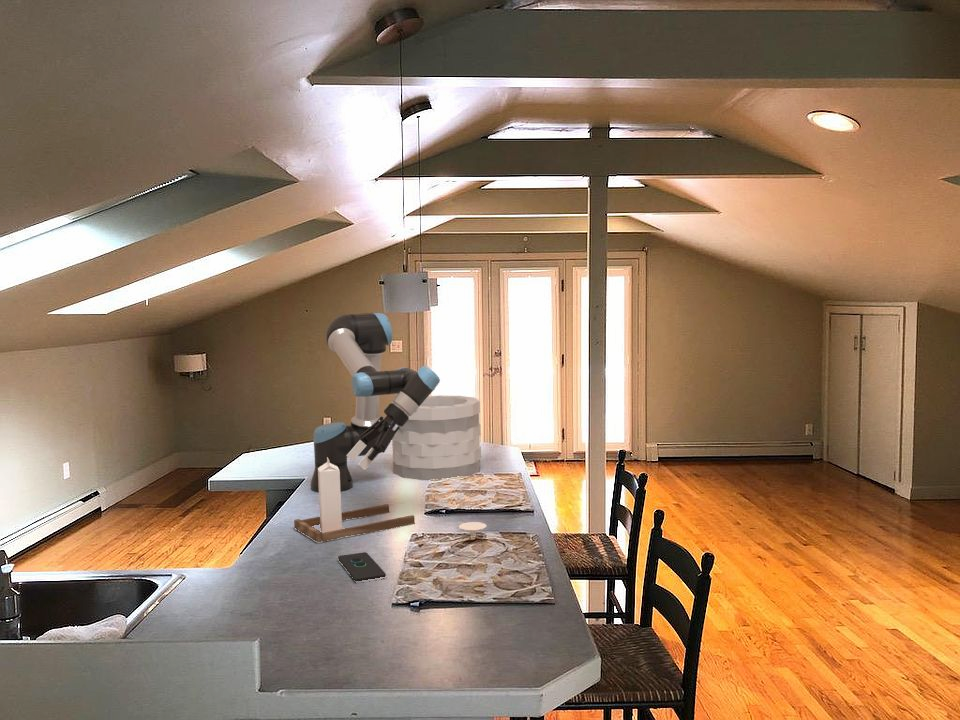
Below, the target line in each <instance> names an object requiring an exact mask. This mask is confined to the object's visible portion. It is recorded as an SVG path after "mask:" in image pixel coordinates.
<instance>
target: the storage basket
mask: <svg viewBox="0 0 960 720" xmlns="http://www.w3.org/2000/svg"><path fill="white" fill-rule="evenodd" d="M391 403H393V401H392V402H391ZM480 413H481V401H480V399H478V398H476V397H472V396H471V397H470V396H462V395H429V396H428V397H427V398H426V399H425V400H424V402H423V403H422V404H421V405H420V406H419V407H418V409H417V412H414V413H413V414H412V416H408V417H409V419H408V421H407V422H406V423H405V424H404V425H403V426H402V427H401V426H399V425H397V426H398V427H400V428H399V430H398V431H397V432H396V433H395V435H394V437H393V438H392V440H391V442H392V461H393V462H392V465H393V467H392V468H393V469H392V471H393V474H395V475H396V476H398V477H400V478H403V479H411V480H417V481H418V480H419V481H431V480H430V479H442V478H451V477H457V476H468V475H470V476H472V474H473V475H474V474H478V473H479V472H480V471H481V459H482V446H481V445H480V442H481V441H480V436H482V435H481V424H480ZM468 477H469V476H468Z"/></svg>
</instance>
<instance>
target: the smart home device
mask: <svg viewBox="0 0 960 720" xmlns="http://www.w3.org/2000/svg"><path fill="white" fill-rule="evenodd" d="M338 559H339V561H340V562H341V563H342V564H343V566H344V567H345V568H346V569H347V571H348V572H349V573H350V575H351V577H353V579H354V580H355V581H362V580H368V579H375V578H380V577H385V576H386V575H387V574H386V572H385V571H384V570H383V569H382V567H381V566H379V564H378V563H377V562H376V561H375V560H374V559H373V558H372V557H371V556H370V555H369V553H368V552H365V551H364V552H363V551H362V552H357V553H350V554H343V555H339V556H338V557H337V560H338ZM339 561H338V562H339ZM343 566H342V567H343ZM351 577H350V578H351ZM353 579H352V580H353Z"/></svg>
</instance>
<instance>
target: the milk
mask: <svg viewBox="0 0 960 720" xmlns="http://www.w3.org/2000/svg"><path fill="white" fill-rule="evenodd" d="M318 484H319V492H318V500H319V502H318V503H319V517H320V528H321V531H322V533H325V532H330V531H335V530H340V529H342V524H343V521H342V515H341V513H342V498H341V497H342V496H341V495H342V494H341V492H342V491H340V470H339V469H338V467H337V466H335V465H333V464H331V463H329V459H328V457H327V462H326V463H325V464H323V465H322V466H320V467H319V468H318Z"/></svg>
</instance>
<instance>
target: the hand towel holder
mask: <svg viewBox="0 0 960 720" xmlns="http://www.w3.org/2000/svg"><path fill="white" fill-rule="evenodd" d="M458 527H459V529H460V530H461V531H464V532H469V535H471V536H475V535H476V532H481V531H483V530H485V529H486V528H487V524H486V523H483V522H481V521H468V522H464V523H463V522H462V523H461V524H459V525H458ZM476 536H477V535H476ZM493 537H494V536H493ZM494 538H497V539H501V538H499V537H496V536H495V537H494Z"/></svg>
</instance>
